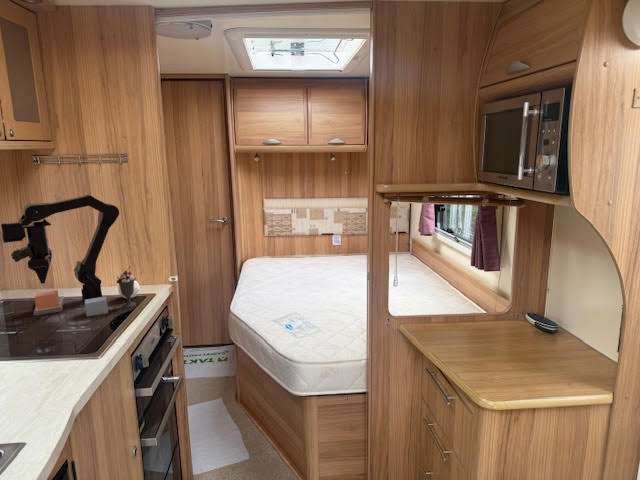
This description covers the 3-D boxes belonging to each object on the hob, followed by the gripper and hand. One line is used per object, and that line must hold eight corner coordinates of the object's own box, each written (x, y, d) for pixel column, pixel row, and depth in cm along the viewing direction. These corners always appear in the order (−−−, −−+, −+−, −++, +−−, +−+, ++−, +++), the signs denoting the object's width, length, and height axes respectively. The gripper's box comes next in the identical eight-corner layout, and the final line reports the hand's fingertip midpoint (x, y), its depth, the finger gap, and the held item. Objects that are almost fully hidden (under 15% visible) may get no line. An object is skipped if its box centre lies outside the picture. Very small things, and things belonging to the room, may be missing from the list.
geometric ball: (125, 305, 176) (110, 292, 173) (135, 292, 183) (120, 279, 180) (137, 298, 173) (122, 284, 170) (146, 285, 180) (132, 271, 176)
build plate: (63, 298, 178) (63, 295, 177) (62, 311, 164) (61, 308, 164) (37, 302, 174) (37, 299, 173) (33, 315, 160) (33, 312, 160)
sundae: (141, 302, 172) (137, 265, 169) (133, 308, 165) (128, 270, 162) (125, 301, 173) (121, 264, 169) (116, 308, 166) (111, 269, 163)
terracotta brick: (59, 302, 170) (57, 290, 169) (58, 306, 166) (56, 293, 165) (38, 305, 167) (36, 293, 166) (37, 309, 163) (34, 296, 162)
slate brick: (107, 309, 166) (106, 296, 165) (108, 313, 162) (106, 300, 161) (86, 312, 163) (85, 299, 162) (86, 316, 159) (84, 303, 158)
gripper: (14, 236, 165) (21, 276, 168) (6, 246, 149) (14, 291, 152) (49, 233, 170) (55, 272, 173) (45, 243, 154) (52, 285, 157)
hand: (43, 280), depth 164 cm, fingers open, 9 cm apart
